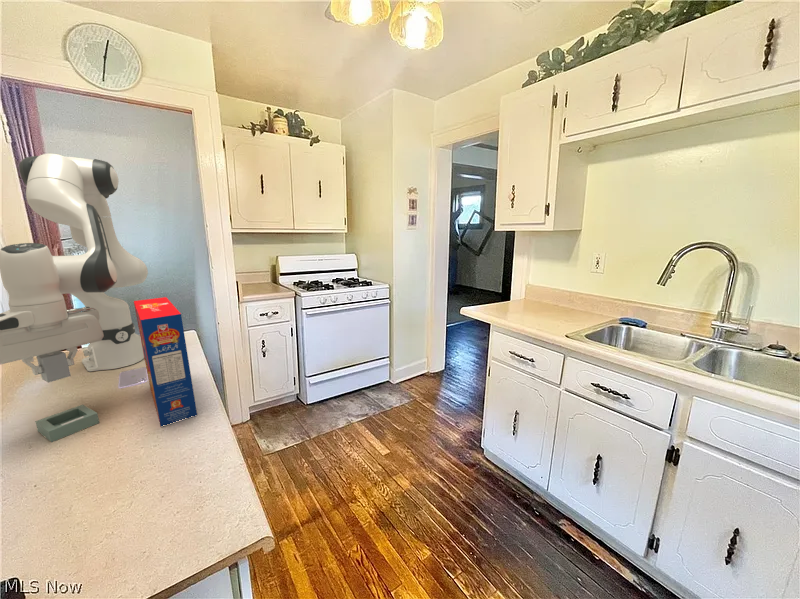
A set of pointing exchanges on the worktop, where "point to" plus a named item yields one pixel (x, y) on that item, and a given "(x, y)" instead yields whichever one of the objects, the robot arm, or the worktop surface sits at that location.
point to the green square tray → (67, 422)
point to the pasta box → (166, 359)
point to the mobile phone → (133, 377)
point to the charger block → (54, 366)
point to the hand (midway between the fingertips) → (54, 369)
